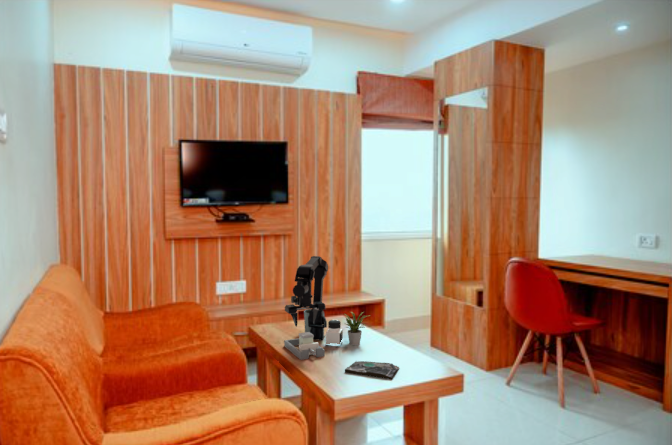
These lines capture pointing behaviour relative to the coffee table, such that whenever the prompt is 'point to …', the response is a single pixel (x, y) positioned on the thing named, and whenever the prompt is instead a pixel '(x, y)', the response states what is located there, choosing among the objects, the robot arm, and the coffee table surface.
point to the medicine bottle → (334, 332)
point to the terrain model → (373, 369)
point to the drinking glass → (306, 320)
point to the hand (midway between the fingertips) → (305, 325)
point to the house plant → (354, 329)
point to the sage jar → (305, 338)
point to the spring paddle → (309, 347)
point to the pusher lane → (305, 353)
